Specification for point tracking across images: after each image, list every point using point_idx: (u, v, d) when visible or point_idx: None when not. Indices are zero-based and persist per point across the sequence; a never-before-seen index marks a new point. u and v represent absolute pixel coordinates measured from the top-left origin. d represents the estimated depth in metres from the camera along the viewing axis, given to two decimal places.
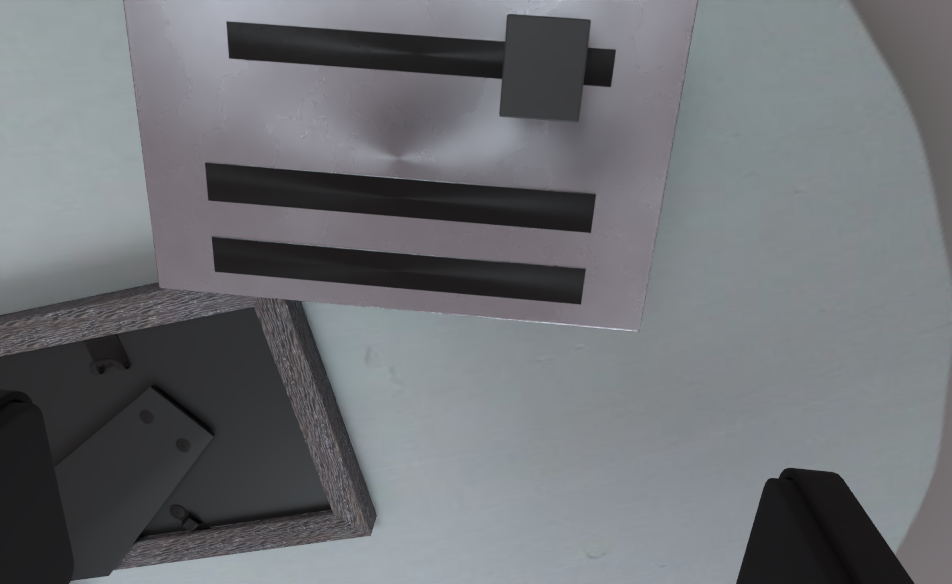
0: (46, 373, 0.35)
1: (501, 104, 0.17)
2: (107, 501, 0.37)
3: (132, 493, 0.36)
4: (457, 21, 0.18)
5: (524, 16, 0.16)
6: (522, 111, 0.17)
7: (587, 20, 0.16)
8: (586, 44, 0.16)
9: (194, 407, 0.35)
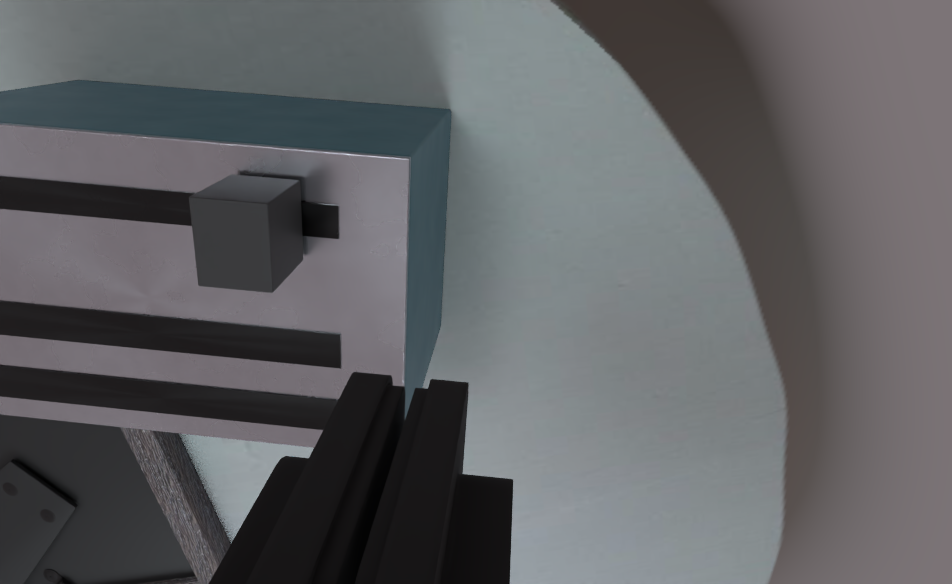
0: None
1: (198, 275, 0.17)
2: None
3: (3, 559, 0.37)
4: (185, 177, 0.19)
5: (205, 199, 0.16)
6: (218, 282, 0.17)
7: (264, 204, 0.16)
8: (267, 225, 0.16)
9: (56, 479, 0.35)
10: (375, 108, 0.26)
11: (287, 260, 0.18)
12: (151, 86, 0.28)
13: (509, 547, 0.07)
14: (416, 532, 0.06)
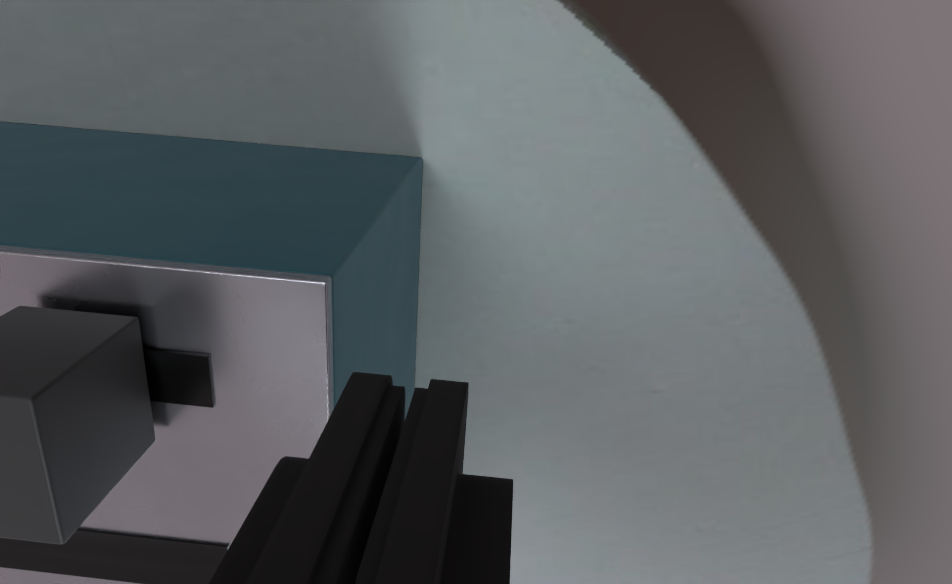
0: None
1: None
2: None
3: None
4: None
5: None
6: None
7: (25, 399, 0.08)
8: (37, 434, 0.09)
9: None
10: (313, 158, 0.18)
11: (107, 465, 0.10)
12: (4, 123, 0.20)
13: (509, 547, 0.07)
14: (416, 532, 0.06)
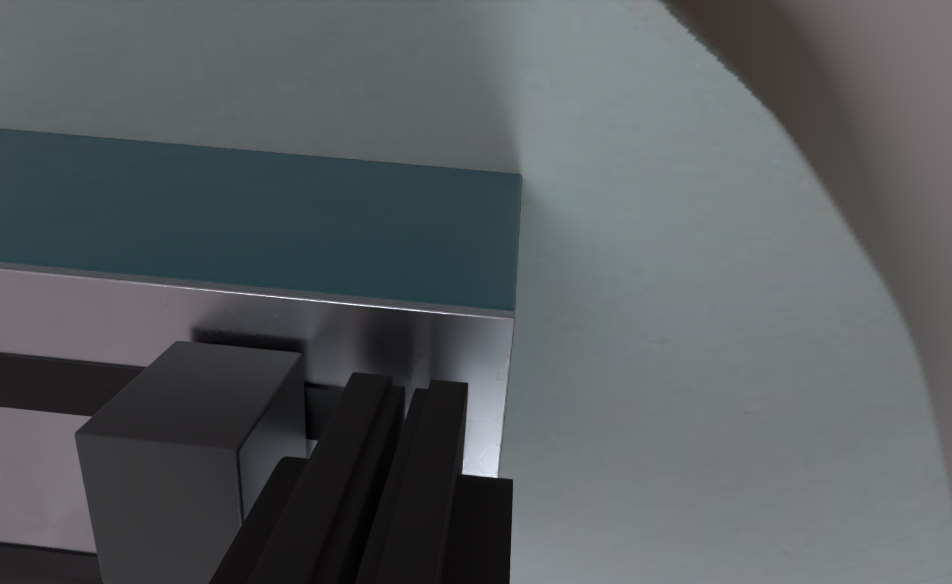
0: None
1: (101, 566, 0.09)
2: None
3: None
4: (103, 340, 0.11)
5: (107, 438, 0.08)
6: (141, 579, 0.09)
7: (230, 450, 0.08)
8: (237, 487, 0.08)
9: None
10: (415, 176, 0.18)
11: None
12: (90, 138, 0.19)
13: (509, 547, 0.07)
14: (416, 532, 0.06)
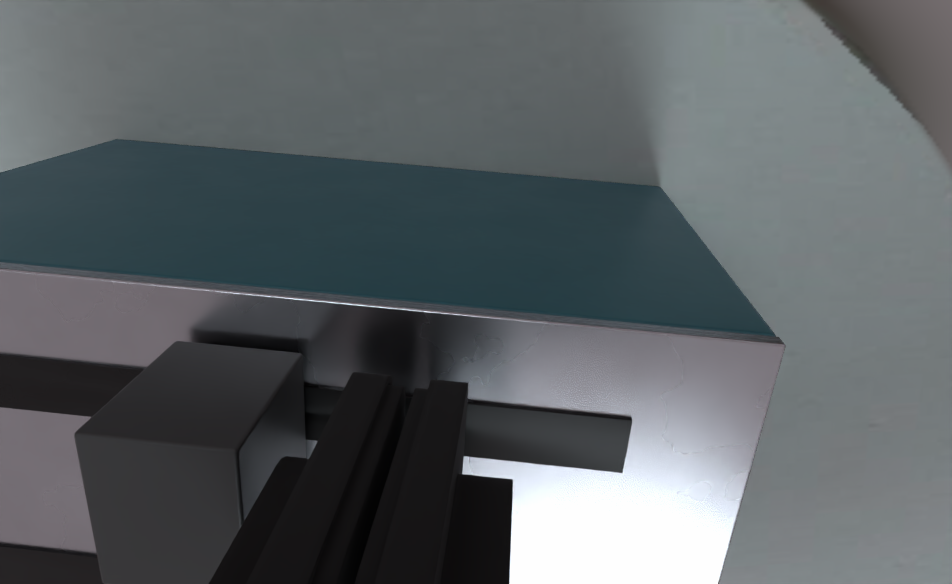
0: None
1: (101, 566, 0.09)
2: None
3: None
4: (350, 366, 0.10)
5: (107, 438, 0.08)
6: (141, 579, 0.09)
7: (230, 450, 0.08)
8: (236, 487, 0.08)
9: None
10: (563, 189, 0.18)
11: None
12: (223, 150, 0.19)
13: (509, 547, 0.07)
14: (416, 532, 0.06)
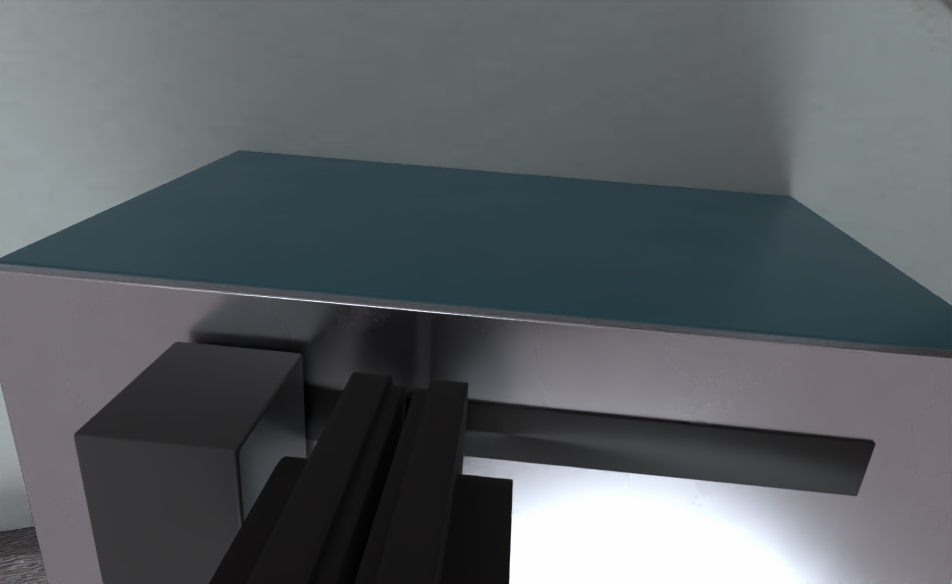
0: None
1: (101, 567, 0.09)
2: None
3: None
4: (586, 389, 0.10)
5: (106, 439, 0.08)
6: (141, 580, 0.09)
7: (229, 451, 0.08)
8: (236, 488, 0.08)
9: None
10: (702, 200, 0.18)
11: None
12: (349, 161, 0.19)
13: (509, 547, 0.07)
14: (416, 532, 0.06)
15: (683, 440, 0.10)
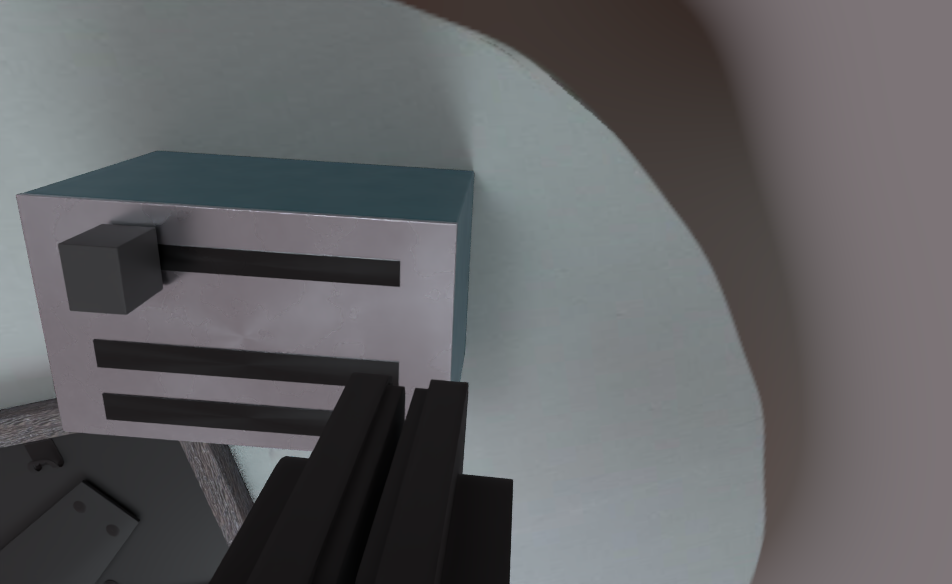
0: None
1: (69, 302, 0.22)
2: (48, 579, 0.42)
3: (69, 571, 0.41)
4: (278, 241, 0.24)
5: (69, 245, 0.22)
6: (84, 307, 0.22)
7: (114, 248, 0.22)
8: (118, 263, 0.22)
9: (121, 497, 0.40)
10: (412, 172, 0.31)
11: (143, 289, 0.23)
12: (220, 155, 0.33)
13: (509, 547, 0.07)
14: (416, 532, 0.06)
15: (323, 264, 0.24)
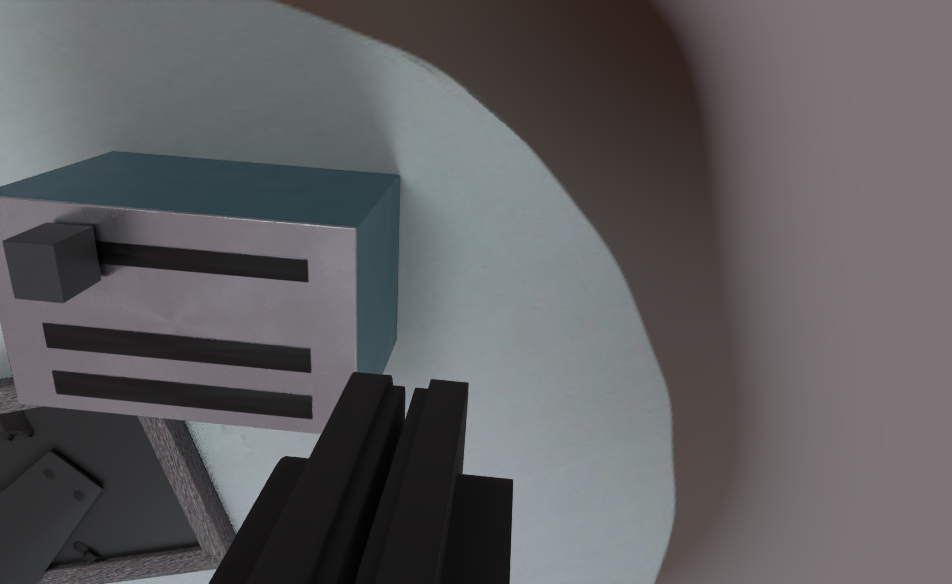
0: None
1: (13, 291, 0.26)
2: (21, 539, 0.46)
3: (41, 532, 0.45)
4: (200, 240, 0.27)
5: (12, 242, 0.25)
6: (27, 296, 0.26)
7: (51, 245, 0.25)
8: (54, 258, 0.25)
9: (86, 466, 0.43)
10: (341, 176, 0.35)
11: (80, 281, 0.27)
12: (169, 157, 0.36)
13: (509, 547, 0.07)
14: (416, 532, 0.06)
15: (240, 260, 0.27)
